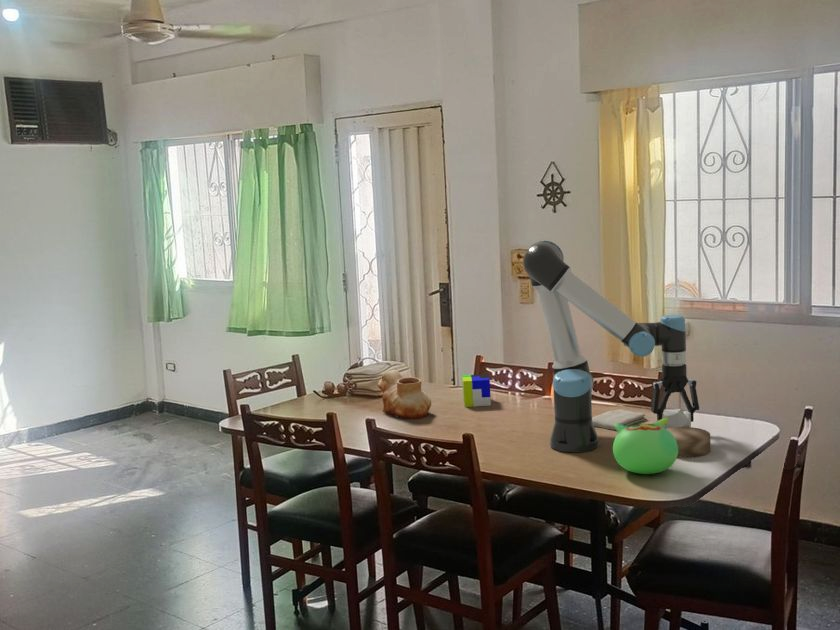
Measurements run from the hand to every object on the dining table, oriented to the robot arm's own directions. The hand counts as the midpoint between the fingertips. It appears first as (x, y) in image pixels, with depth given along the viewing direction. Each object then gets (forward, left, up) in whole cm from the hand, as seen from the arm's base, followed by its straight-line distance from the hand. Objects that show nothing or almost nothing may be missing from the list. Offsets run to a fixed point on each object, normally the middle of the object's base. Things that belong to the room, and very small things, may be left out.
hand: (675, 432), depth 294 cm
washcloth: (-14, +18, -1) cm, 23 cm away
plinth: (-3, -17, 0) cm, 17 cm away
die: (0, 0, 0) cm, 1 cm away
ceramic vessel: (-85, +54, -1) cm, 101 cm away
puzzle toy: (-57, +59, -1) cm, 82 cm away
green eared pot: (-20, -33, 0) cm, 39 cm away
